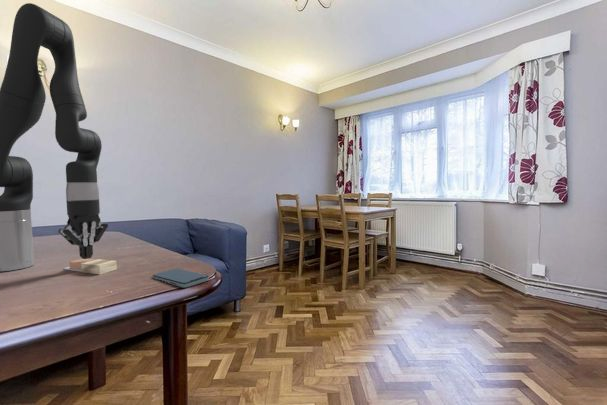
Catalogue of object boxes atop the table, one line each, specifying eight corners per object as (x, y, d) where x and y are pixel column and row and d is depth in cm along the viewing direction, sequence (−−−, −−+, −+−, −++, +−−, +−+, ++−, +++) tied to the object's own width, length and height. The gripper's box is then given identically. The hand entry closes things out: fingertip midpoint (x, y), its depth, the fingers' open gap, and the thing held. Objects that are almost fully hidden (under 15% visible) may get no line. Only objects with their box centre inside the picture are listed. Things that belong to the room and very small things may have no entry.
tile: (69, 268, 85) (69, 261, 85) (83, 264, 89) (83, 258, 88) (82, 270, 83) (81, 263, 83) (95, 266, 87) (95, 259, 87)
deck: (81, 272, 82) (81, 263, 82) (99, 267, 87) (98, 259, 87) (100, 274, 80) (99, 265, 80) (116, 269, 85) (116, 260, 85)
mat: (63, 269, 85) (63, 268, 85) (78, 265, 89) (78, 264, 89) (83, 271, 83) (83, 270, 83) (97, 267, 87) (97, 266, 87)
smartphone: (177, 267, 83) (210, 275, 75) (177, 273, 83) (211, 281, 75) (150, 274, 77) (183, 283, 68) (151, 281, 77) (184, 290, 69)
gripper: (96, 197, 91) (99, 252, 92) (48, 199, 79) (52, 263, 80) (114, 197, 89) (117, 253, 90) (67, 199, 76) (71, 265, 78)
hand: (86, 258), depth 85 cm, fingers closed
